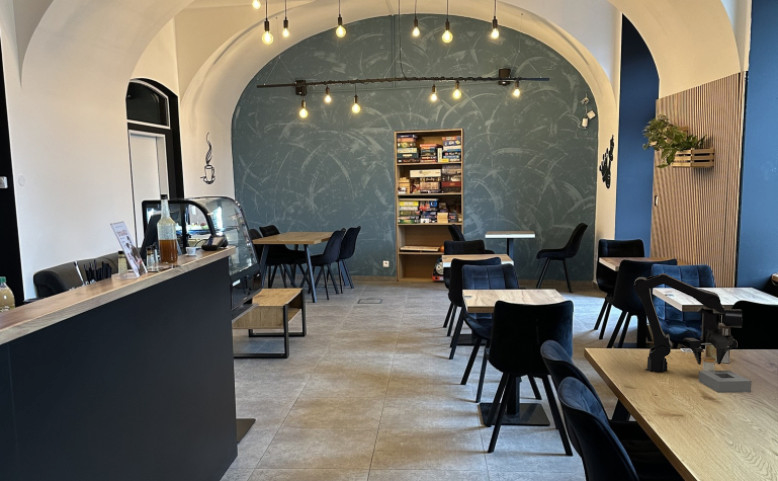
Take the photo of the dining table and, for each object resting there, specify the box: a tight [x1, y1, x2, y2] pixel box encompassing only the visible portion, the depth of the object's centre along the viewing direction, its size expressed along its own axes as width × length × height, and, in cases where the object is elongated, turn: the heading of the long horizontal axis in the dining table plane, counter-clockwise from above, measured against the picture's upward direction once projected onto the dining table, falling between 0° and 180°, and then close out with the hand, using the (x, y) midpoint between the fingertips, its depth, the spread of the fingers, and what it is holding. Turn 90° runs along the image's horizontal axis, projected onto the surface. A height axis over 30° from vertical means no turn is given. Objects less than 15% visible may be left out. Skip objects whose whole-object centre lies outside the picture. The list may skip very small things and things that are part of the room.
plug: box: [702, 356, 716, 371], centre depth 218 cm, size 4×4×8 cm
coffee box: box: [704, 322, 731, 364], centre depth 241 cm, size 9×6×16 cm
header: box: [698, 370, 752, 394], centre depth 207 cm, size 12×12×5 cm
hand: (709, 364), depth 218 cm, fingers open, 7 cm apart
